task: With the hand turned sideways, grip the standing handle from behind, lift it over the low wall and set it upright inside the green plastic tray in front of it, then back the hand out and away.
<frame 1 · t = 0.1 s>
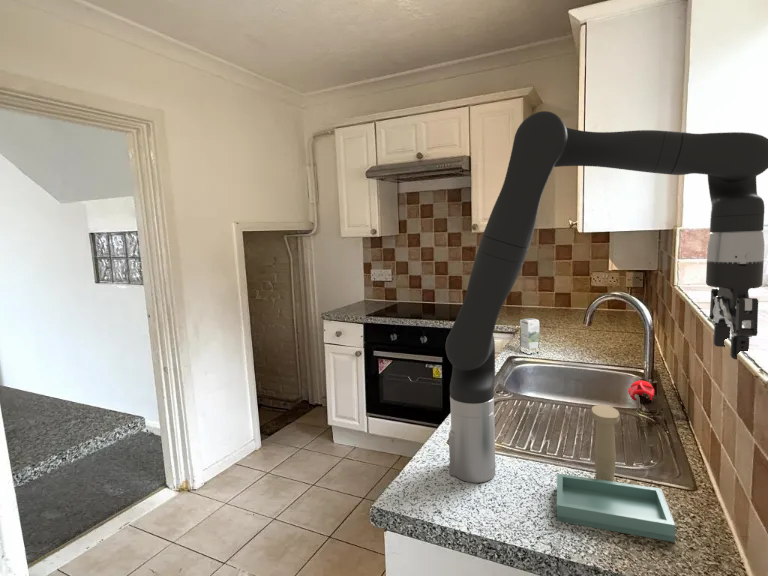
hand: (729, 352, 76), 29 cm above the worktop, tool pointing down, fingers open, 8 cm apart
red lobed piece: (641, 400, 132), on the worktop
tray: (609, 511, 80), on the worktop
handle: (604, 482, 90), on the worktop
syrup box: (529, 353, 188), on the worktop
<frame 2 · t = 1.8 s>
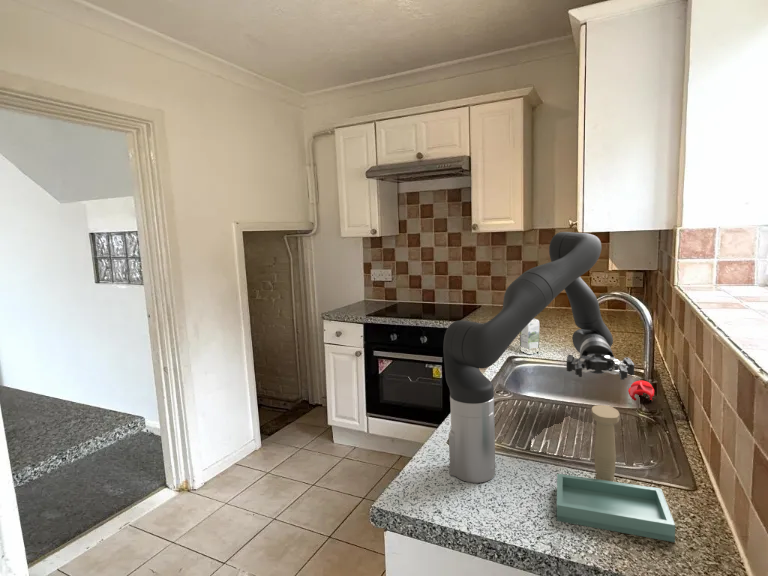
hand: (601, 374, 98), 19 cm above the worktop, tool horizontal, fingers open, 8 cm apart
nothing on the worktop moved.
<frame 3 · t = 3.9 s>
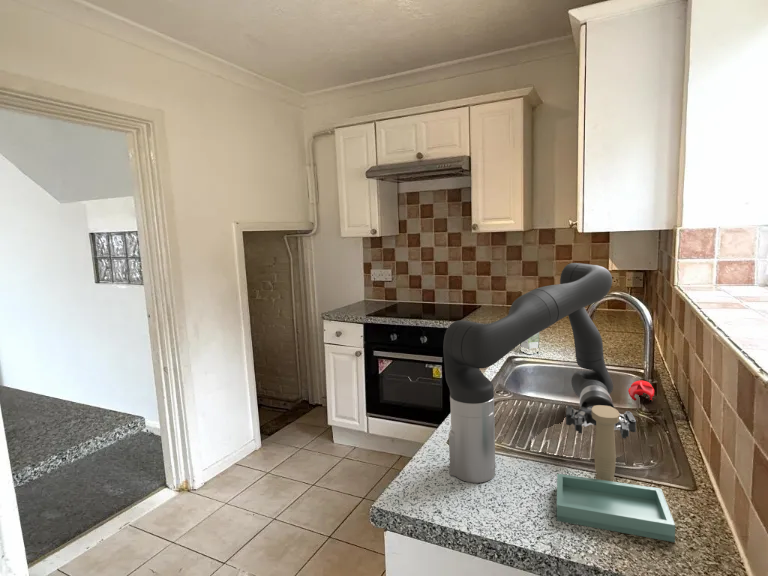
hand: (602, 431, 95), 8 cm above the worktop, tool horizontal, fingers open, 8 cm apart
nothing on the worktop moved.
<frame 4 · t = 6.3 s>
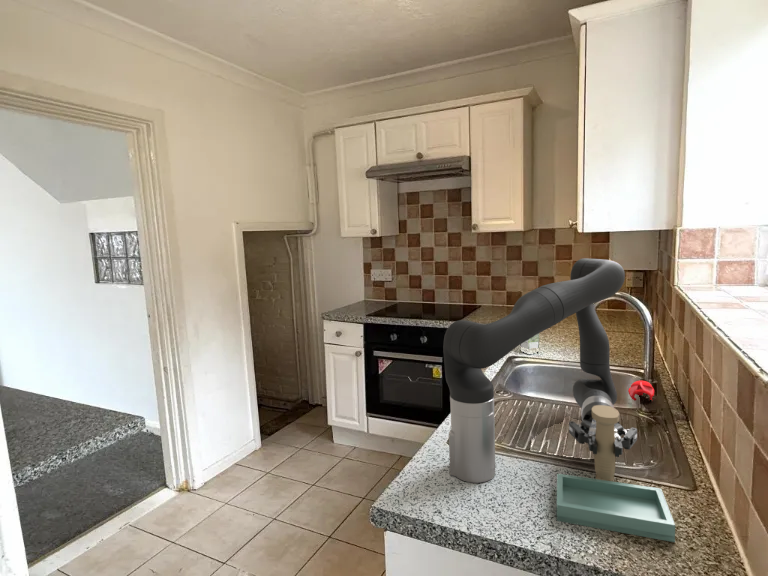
hand: (606, 450, 86), 8 cm above the worktop, tool horizontal, fingers closed on handle, 3 cm apart
handle: (604, 482, 90), on the worktop, touching gripper
everything else where it was.
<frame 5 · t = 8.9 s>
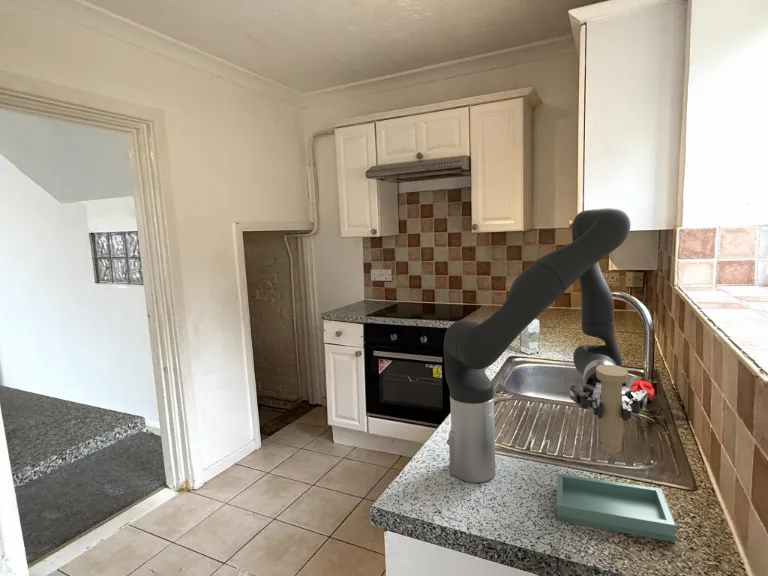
hand: (612, 414, 76), 20 cm above the worktop, tool horizontal, fingers closed on handle, 3 cm apart
handle: (610, 451, 79), point 11 cm above the worktop, touching gripper
everything else where it was.
when the fingers open (10 cm above the worktop, at t = 11.5 s): handle drops 1 cm, resting on tray.
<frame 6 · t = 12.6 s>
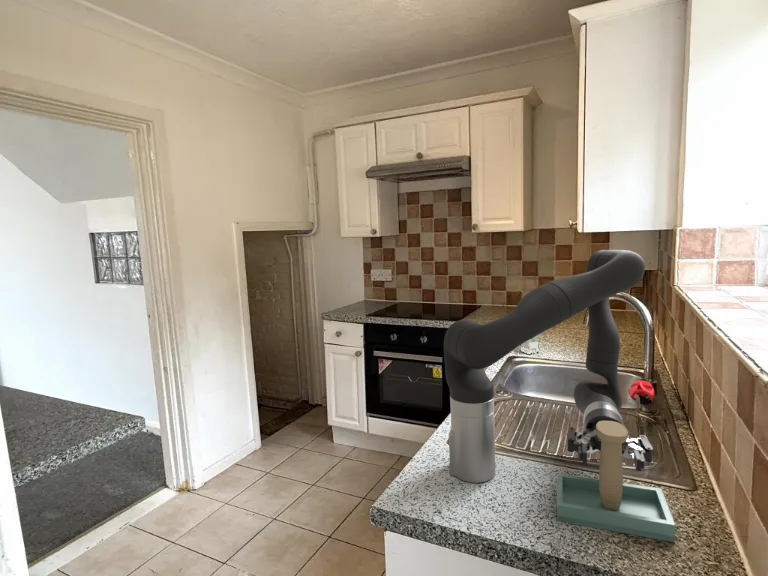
hand: (611, 462, 77), 10 cm above the worktop, tool horizontal, fingers open, 8 cm apart
handle: (610, 507, 80), point 1 cm above the worktop, touching tray
everything else where it was.
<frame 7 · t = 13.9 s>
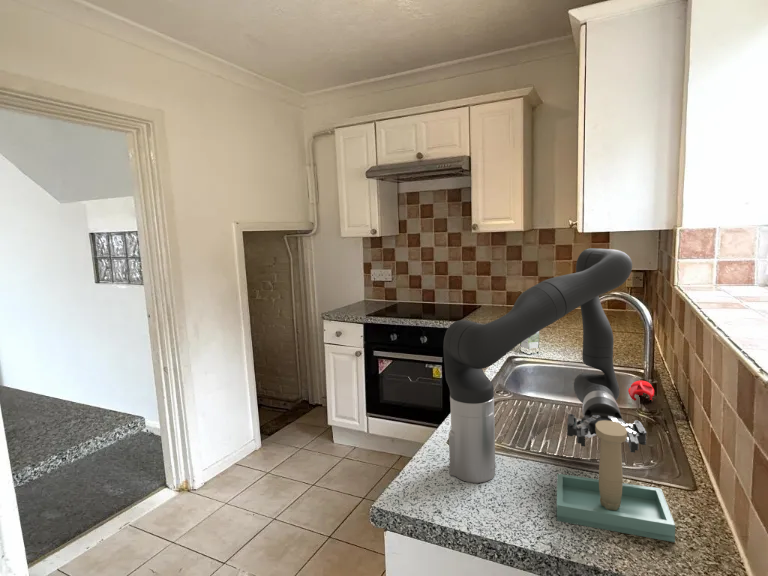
hand: (607, 444, 84), 10 cm above the worktop, tool horizontal, fingers open, 8 cm apart
nothing on the worktop moved.
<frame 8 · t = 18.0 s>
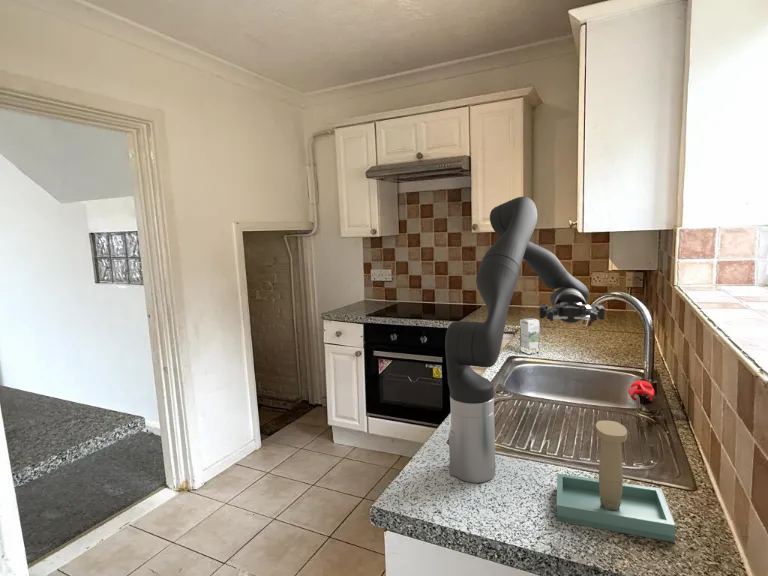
hand: (571, 317, 99), 32 cm above the worktop, tool horizontal, fingers open, 8 cm apart
nothing on the worktop moved.
at the end: handle inside the target area on the tray (0.2 cm from its centre), point 0.8 cm above the tray's base; handle tilted 0°; the gripper is holding nothing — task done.
